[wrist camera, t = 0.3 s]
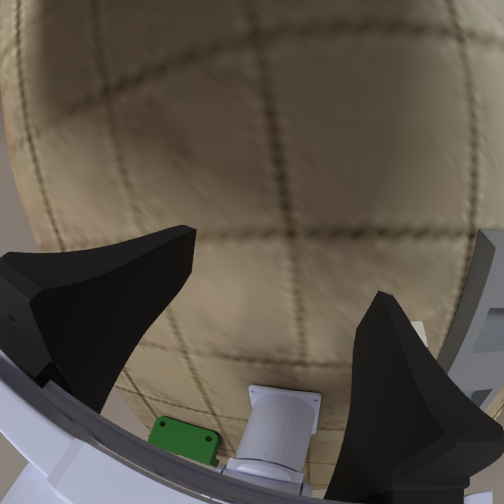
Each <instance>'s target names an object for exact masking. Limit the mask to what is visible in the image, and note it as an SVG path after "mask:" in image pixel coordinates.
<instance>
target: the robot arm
mask: <svg viewBox="0 0 504 504" xmlns="http://www.w3.org/2000/svg"><path fill="white" fill-rule="evenodd" d="M196 230H197V229H194V228H191V227H188V226H185V225H178V226H174V227H171V228H167V229H164V230H161V231H158V232H155V233H151V234H148V235H145V236H142V237H139V238H135V239H131V240H128V241H124V242H121V243H117V244H113V245H109V246H104V247H99V248H93V249H87V250H79V251H71V252H60V253H22V252H8V253H6V254H5V255H3V256H2V257H0V431H1V433H3V435H4V436H5V437H6V438H7V439H8V440H9V441H10V442H11V443H12V445H13V446H14V447H15V448H16V449H17V450H18V451H19V452H20V453H21V454H22V455H23V456H24V457H25V458H26V459H27V460H28V461H29V463H28V464H27V466H26V467H25V469H24V470H23V471H22V473H21V474H20V476H19V477H18V479H17V480H16V482H15V483H14V484H13V486H12V487H11V489H10V490H9V492H8V493H7V495H6V496H5V498H4V499H3V501H2V502H1V504H492V491H491V490H489V491H484V492H477V493H472V494H468V495H465V496H464V489H465V488H467V487H469V485H470V477H471V476H473V475H474V474H476V473H478V472H479V471H481V470H483V469H484V468H486V467H488V466H489V465H491V464H492V463H493V462H495V461H496V460H497V459H498V458H500V457H501V456H502V454H503V452H504V431H503V427H502V426H501V425H500V424H498V423H497V422H496V421H495V420H493V419H492V418H491V417H490V416H488V415H487V414H486V413H484V412H483V411H482V410H481V409H480V408H479V407H478V406H477V405H476V404H474V403H473V402H472V401H471V400H470V399H469V398H468V397H467V396H466V395H465V394H464V393H463V392H462V391H461V390H460V389H459V387H458V386H457V385H456V384H455V383H454V382H453V381H452V380H451V379H450V377H449V376H448V375H447V374H446V373H445V371H444V370H443V369H442V368H441V366H440V365H439V364H438V362H437V361H436V360H435V358H434V357H433V356H432V354H431V353H430V351H429V350H428V348H427V347H426V346H425V344H424V343H423V341H422V340H421V338H420V337H419V335H418V333H417V332H416V330H415V329H414V327H413V326H412V324H411V322H410V321H409V319H408V318H407V316H406V314H405V313H404V311H403V310H402V308H401V306H400V305H399V303H398V302H397V301H396V299H395V298H394V297H393V295H390V294H387V293H384V292H381V291H378V292H377V294H376V296H375V298H374V300H373V301H372V303H371V305H370V307H369V309H368V310H367V312H366V314H365V315H364V317H363V319H362V321H361V322H360V324H359V326H358V327H357V329H356V335H355V341H354V348H353V364H352V389H351V403H350V411H349V417H348V421H347V426H346V431H345V435H344V439H343V443H342V447H341V450H340V454H339V457H338V460H337V464H336V467H335V470H334V473H333V476H332V478H331V481H330V483H329V486H328V488H327V492H326V494H325V496H324V498H323V499H319V498H313V497H312V487H311V486H310V485H309V482H306V481H303V477H304V473H302V472H303V468H304V464H305V459H306V455H307V451H308V446H309V442H310V437H311V434H315V433H316V428H317V422H318V416H319V409H320V403H321V394H319V393H312V392H302V391H294V390H286V389H279V388H271V387H265V386H258V385H250V386H249V388H248V389H249V394H250V400H251V405H252V412H251V414H250V417H249V420H248V422H247V425H246V428H245V430H244V433H243V436H242V438H241V441H240V444H239V446H238V449H237V451H236V454H235V457H234V459H233V458H230V459H229V461H228V464H227V465H226V464H220V465H219V466H217V467H215V468H214V469H213V470H210V469H207V468H204V467H202V466H199V465H197V464H195V463H192V462H190V461H187V460H185V459H183V458H180V457H178V456H176V455H174V454H171V453H169V452H167V451H165V450H163V449H161V448H159V447H157V446H155V445H153V444H151V443H149V442H147V441H145V440H143V439H141V438H139V437H137V436H135V435H133V434H131V433H130V432H128V431H126V430H124V429H123V428H121V427H119V426H118V425H116V424H114V423H112V422H111V421H109V420H108V419H106V418H104V417H103V416H101V415H100V413H101V410H102V408H103V406H104V404H105V402H106V400H107V397H108V395H109V393H110V391H111V389H112V387H113V386H114V384H115V382H116V380H117V378H118V376H119V374H120V372H121V371H122V369H123V367H124V365H125V364H126V362H127V360H128V359H129V357H130V355H131V354H132V352H133V350H134V349H135V347H136V346H137V344H138V343H139V341H140V339H141V338H142V336H143V335H144V334H145V332H146V331H147V330H148V328H149V327H150V326H151V325H152V323H153V322H154V321H155V320H156V319H157V318H158V316H159V315H160V314H161V313H162V312H163V310H164V309H165V308H166V307H167V306H168V305H169V303H170V302H171V301H172V300H173V299H174V297H175V296H176V295H177V294H178V293H179V291H180V290H181V288H182V287H183V285H184V284H185V282H186V281H187V279H188V277H189V276H190V274H191V272H192V263H193V255H194V246H195V238H196ZM90 437H91V438H90ZM92 438H93V439H94V440H96V441H97V442H99V443H100V444H102V445H104V446H105V447H107V448H108V449H110V450H112V451H113V452H115V453H117V454H118V455H120V456H122V457H123V458H125V459H127V460H129V461H131V462H132V463H134V464H136V465H138V466H140V467H142V468H144V469H146V470H148V471H150V472H152V473H154V474H156V475H158V476H160V477H162V478H164V479H167V480H169V481H171V482H173V483H176V484H178V485H180V486H183V487H185V488H188V489H190V490H192V491H195V492H198V493H200V494H201V495H198V494H195V493H193V492H190V491H188V490H185V489H183V488H181V487H178V486H176V485H174V484H171V483H169V482H167V481H164V480H162V479H160V478H158V477H156V476H154V475H152V474H150V473H148V472H146V471H144V470H142V469H140V468H138V467H136V466H135V465H133V464H131V463H129V462H127V461H125V460H124V459H122V458H120V457H118V456H117V455H115V454H113V453H111V452H110V451H108V450H106V449H104V448H103V447H101V446H99V445H98V443H96V441H94V440H93V439H92ZM302 481H303V482H302Z"/></svg>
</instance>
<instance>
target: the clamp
mask: <svg viewBox="0 0 504 504" xmlns="http://www.w3.org/2000/svg"><path fill="white" fill-rule="evenodd" d="M211 438H212V441H210V439H211ZM148 442H149V443H151V444H153V445H155V446H157V447H159V448H161V449H163V450H165V451H168V452H171V453H173V454H176V455H181V456H184V457H187V458H189V459H192V460H195V461H198V462H200V463H203V464H206V465H209V466H213V467H217V466H218V463H219V460H218V459H216V455H217V452H218V449H219V446H220V443H221V439H220V437H219V436H218V435H217V434H216V433H214V432H213V431H209V430H206V429H202V428H199V427H195V426H192V425H189V424H186V423H182V422H179V421H176V420H173V419H170V418H167V417H164V416H162V417H159V418H158V419H157V420H156V422H155V424H154V426H153V429H152V431H151V434H150V436H149V439H148Z"/></svg>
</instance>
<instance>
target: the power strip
mask: <svg viewBox="0 0 504 504" xmlns="http://www.w3.org/2000/svg"><path fill="white" fill-rule="evenodd" d="M437 362H438V364H439V365H440V366H441V368H442V369H443V370H444V371H445V373H446V374H447V375H448V376H449V377H450V379H451V380H452V381H453V382H454V383H455V384H456V385H457V386H458V387H459V389H460V390H461V391H462V392H463V393H464V394H465V395H466V396H467V397H468V398H469V399H470V400H471V401H472V402H473V403H474V404H476V405H477V406H478V407H479V408H480V409H481V410H482V411H483V412H484V411H485V409H486V408H487V407H488V406H489V404H490V403H491V402H492V400H493V399H494V398H495V396H496V395H497V393H498V392H499V391H500V389H501V388H502V386H503V385H504V231H498V230H488V229H479V233H478V238H477V243H476V247H475V251H474V255H473V259H472V263H471V267H470V271H469V274H468V278H467V281H466V285H465V288H464V291H463V294H462V297H461V301H460V304H459V306H458V309H457V312H456V315H455V318H454V320H453V323H452V326H451V328H450V331H449V334H448V336H447V338H446V341H445V343H444V346H443V348H442V350H441V353H440V355H439V357H438V359H437Z"/></svg>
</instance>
